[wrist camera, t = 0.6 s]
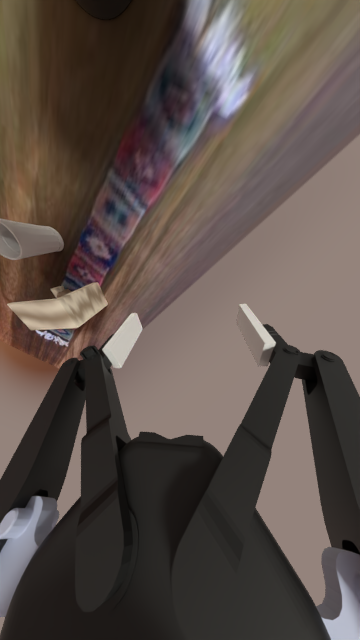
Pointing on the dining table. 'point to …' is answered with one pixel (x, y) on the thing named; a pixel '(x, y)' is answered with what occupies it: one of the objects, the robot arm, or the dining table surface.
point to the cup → (27, 240)
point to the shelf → (61, 308)
